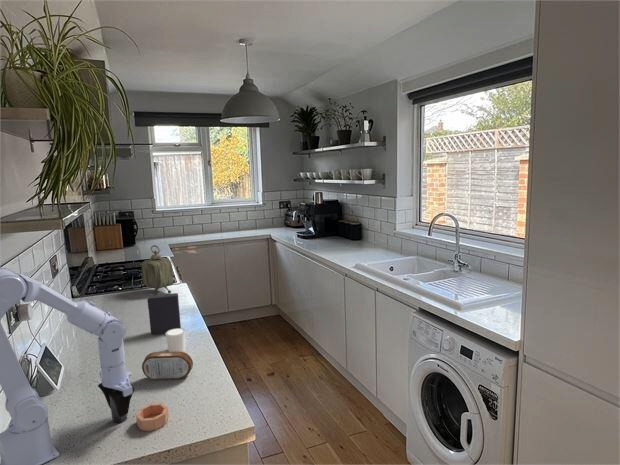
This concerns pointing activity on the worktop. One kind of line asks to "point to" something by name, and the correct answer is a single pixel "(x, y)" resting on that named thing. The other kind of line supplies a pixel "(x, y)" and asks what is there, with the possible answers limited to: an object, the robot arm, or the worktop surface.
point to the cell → (115, 416)
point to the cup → (152, 417)
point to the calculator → (163, 313)
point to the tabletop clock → (157, 272)
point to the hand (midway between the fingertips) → (118, 410)
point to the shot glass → (176, 339)
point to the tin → (167, 365)
